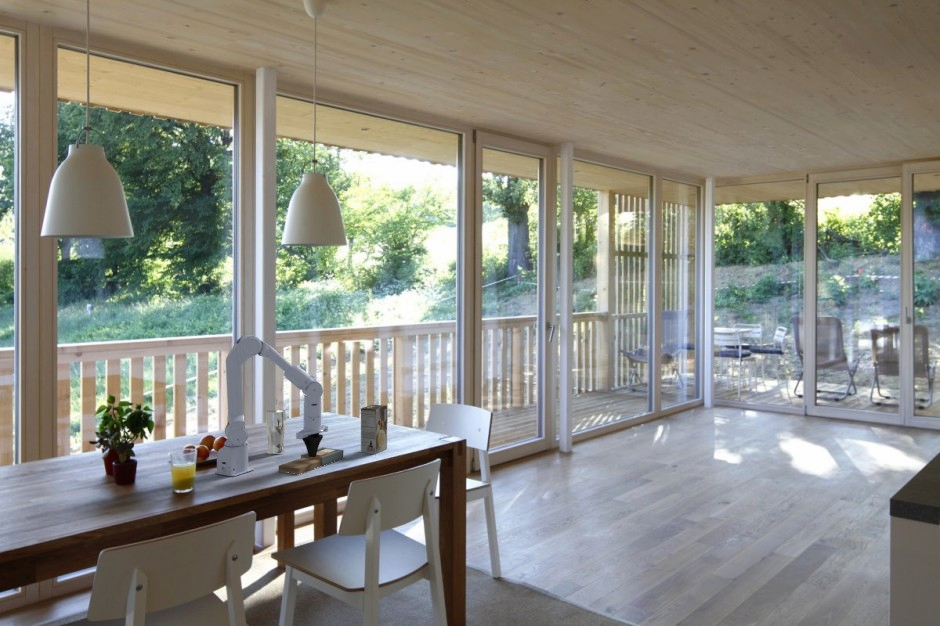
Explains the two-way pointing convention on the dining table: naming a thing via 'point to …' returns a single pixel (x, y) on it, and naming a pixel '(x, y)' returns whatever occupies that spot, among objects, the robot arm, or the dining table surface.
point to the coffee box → (373, 429)
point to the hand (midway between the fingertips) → (312, 456)
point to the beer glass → (275, 430)
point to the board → (300, 465)
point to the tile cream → (327, 451)
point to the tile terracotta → (318, 455)
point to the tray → (327, 456)
